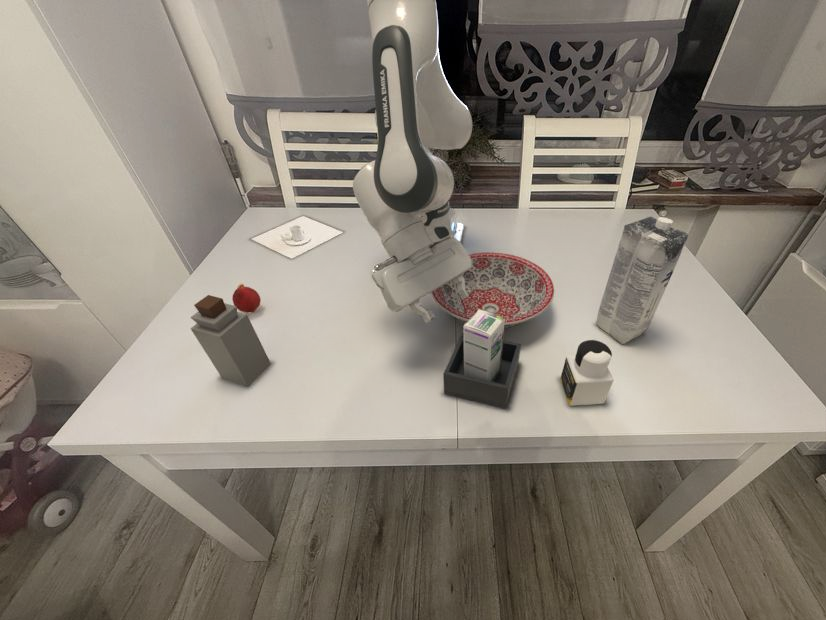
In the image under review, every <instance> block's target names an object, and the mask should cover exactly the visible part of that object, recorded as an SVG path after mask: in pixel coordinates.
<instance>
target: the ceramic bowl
mask: <svg viewBox="0 0 826 620" xmlns="http://www.w3.org/2000/svg"><path fill="white" fill-rule="evenodd" d="M468 255H469V257H470V258H471V261H472V268H471V269H469V270H468V271H466V272H464V273H463V274H462V275H463V277H464V279H465V290H466V292H467V293H468V297H467V298H465V299H464V300H462V301H459V299H458V297H457V296H456V294H457V293H458V288H457V284H454V283H453V281H452V280H451V281H449V282H447V283H446V284H444V285H442V286H441V287H439V288H437V289H436V290H434V291H432V292H430V294H431V296H432V298H433V300H434V302H435V303H436V305H437V306H438V307H440V309H442V310H443V311H444V312H445V313H447V314H448V315H451V316H452V317H454V318H456V319H458V320H459V321H461V322H463V323H464V324H466V323H467V322H468V320H469V319H470V318H471V317H472V316H473V315H474V314H475V313H476V312H477V311H478V310H479V309H480V310H483V311H486V308H489V307H491V308H494V309H495V311H493V312H492V313H493V314H496V315H498V316H500V317H503V318H504V319H505V323H504V329H507V328H511V327H514V326H517V325H519V324H522V323H524V322H527V321H530V320H532V319H534V318H536V317H537V316H540V315H541V314H542V313H544V312H545V311H546V310H547V309H548V308H549V306H550V305H551V304H552V302H553V300H554V297H555V285H554V282H553V280H552V277H551V276H550V275H549V274H548V273H547V272H546V270H545V269H543V268H542V267H540V266H539V265H538V264H536V263H535V262H533V261H531V260H529V259H526V258H524V257H522V256H518V255H513V254H509V253H505V252H504V253H503V252H494V251H493V252H491V251H490V252H488V251H487V252H485V251H484V252H475V253H468Z"/></svg>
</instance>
